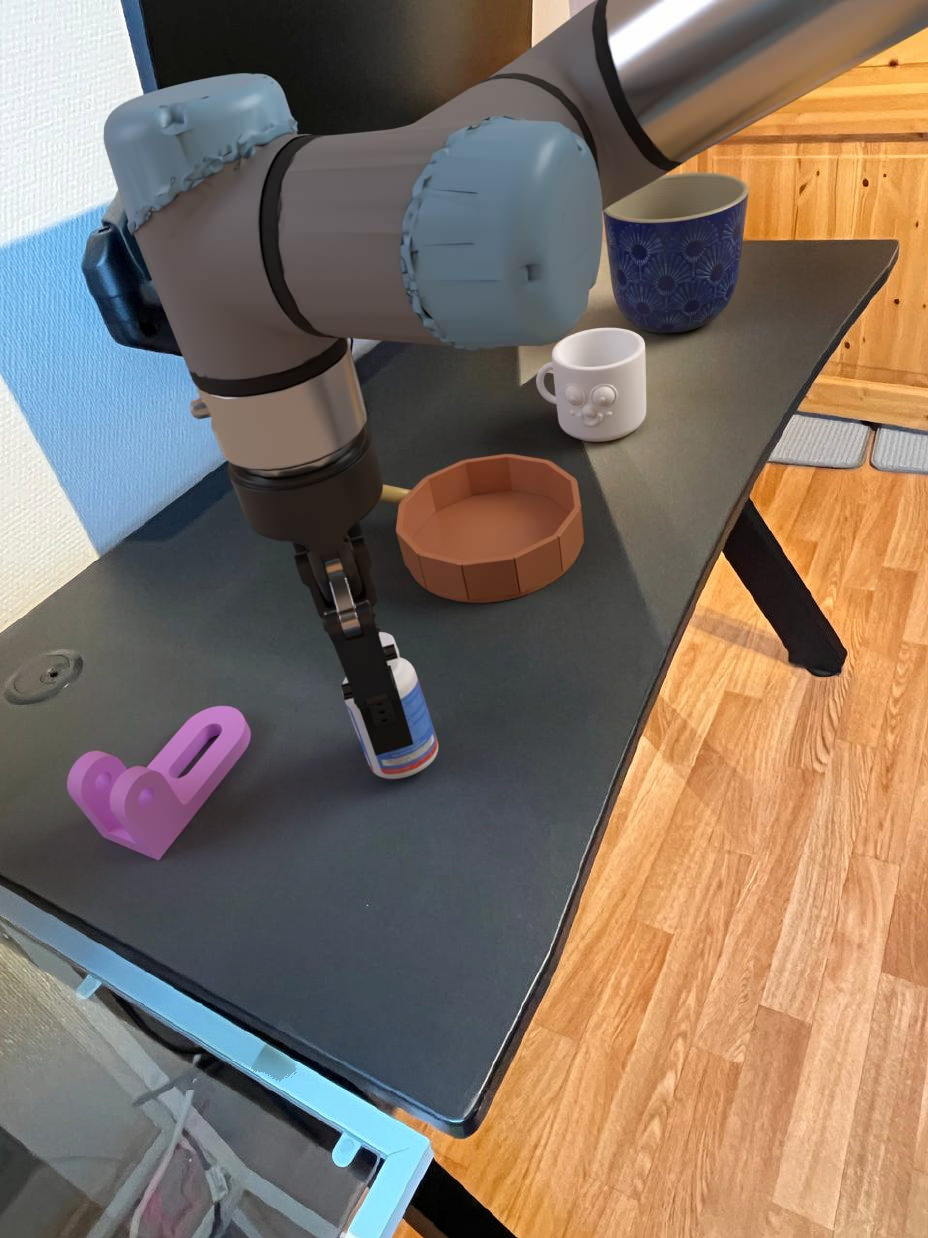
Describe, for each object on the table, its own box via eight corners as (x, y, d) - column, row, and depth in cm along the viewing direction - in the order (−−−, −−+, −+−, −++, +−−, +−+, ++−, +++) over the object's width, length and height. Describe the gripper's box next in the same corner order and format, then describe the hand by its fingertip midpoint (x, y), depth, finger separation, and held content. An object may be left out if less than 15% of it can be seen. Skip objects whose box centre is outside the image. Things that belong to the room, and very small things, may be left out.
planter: (753, 292, 112) (761, 168, 102) (726, 351, 102) (732, 218, 92) (629, 291, 119) (625, 174, 109) (591, 345, 109) (583, 222, 99)
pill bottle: (454, 743, 63) (421, 632, 58) (408, 789, 59) (369, 675, 55) (400, 727, 66) (365, 621, 61) (354, 770, 62) (313, 661, 58)
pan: (611, 510, 82) (609, 469, 79) (531, 622, 72) (525, 581, 69) (378, 465, 95) (369, 430, 92) (284, 555, 85) (270, 518, 82)
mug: (526, 447, 93) (516, 371, 87) (552, 400, 100) (544, 327, 94) (635, 452, 88) (632, 372, 82) (654, 403, 95) (653, 326, 89)
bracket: (158, 860, 60) (115, 803, 55) (103, 837, 62) (58, 780, 58) (264, 726, 68) (234, 666, 63) (211, 710, 70) (179, 651, 66)
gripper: (219, 406, 47) (327, 696, 62) (228, 526, 37) (354, 834, 53) (349, 373, 48) (425, 667, 63) (391, 481, 38) (468, 798, 53)
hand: (392, 743), depth 58 cm, fingers closed
